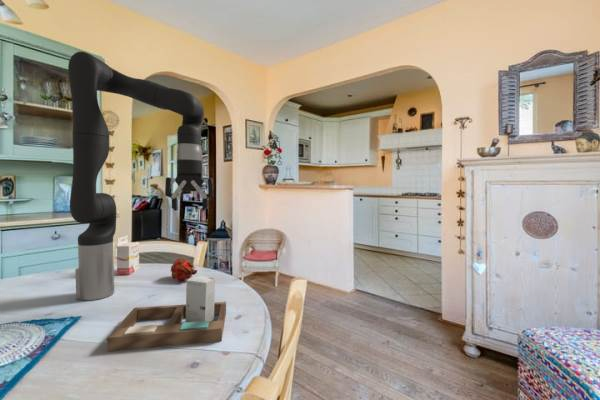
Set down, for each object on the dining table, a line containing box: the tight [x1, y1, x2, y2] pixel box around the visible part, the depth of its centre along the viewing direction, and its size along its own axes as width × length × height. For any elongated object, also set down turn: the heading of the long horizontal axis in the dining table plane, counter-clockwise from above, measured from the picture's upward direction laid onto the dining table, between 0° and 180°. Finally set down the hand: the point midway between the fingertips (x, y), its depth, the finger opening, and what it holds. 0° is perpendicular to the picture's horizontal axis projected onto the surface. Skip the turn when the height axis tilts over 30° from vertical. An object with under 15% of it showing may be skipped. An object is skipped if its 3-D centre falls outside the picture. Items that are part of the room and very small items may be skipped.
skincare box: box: [185, 274, 216, 323], centre depth 73 cm, size 6×4×12 cm
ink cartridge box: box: [116, 235, 140, 276], centre depth 116 cm, size 9×5×15 cm, turn 5°
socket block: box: [106, 301, 227, 352], centre depth 71 cm, size 24×15×3 cm, turn 101°
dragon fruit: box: [170, 258, 198, 283], centre depth 108 cm, size 8×8×12 cm
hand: (190, 210), depth 90 cm, fingers open, 8 cm apart
